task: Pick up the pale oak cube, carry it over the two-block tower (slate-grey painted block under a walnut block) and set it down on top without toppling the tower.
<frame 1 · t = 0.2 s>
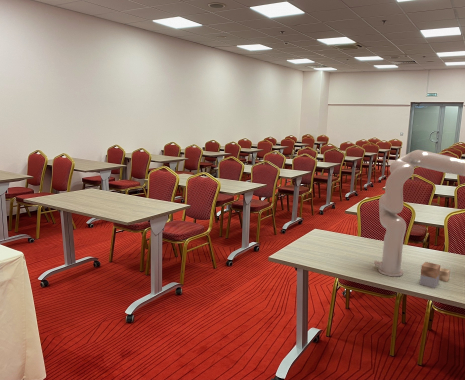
oak cube: (442, 279, 205), on the table
top block: (430, 274, 197), point 5 cm above the table, touching base block
base block: (429, 283, 198), on the table, touching top block
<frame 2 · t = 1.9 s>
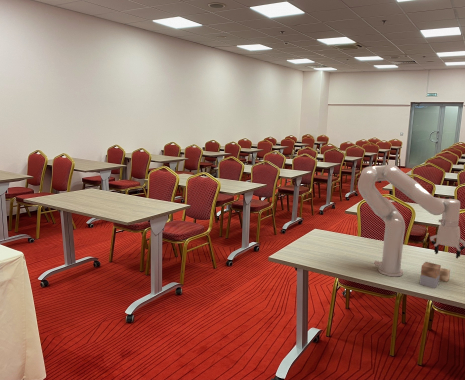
hand: (446, 255, 202), 13 cm above the table, tool pointing down, fingers open, 9 cm apart
top block: (430, 274, 197), point 5 cm above the table
base block: (429, 284, 198), on the table
everything else where it was.
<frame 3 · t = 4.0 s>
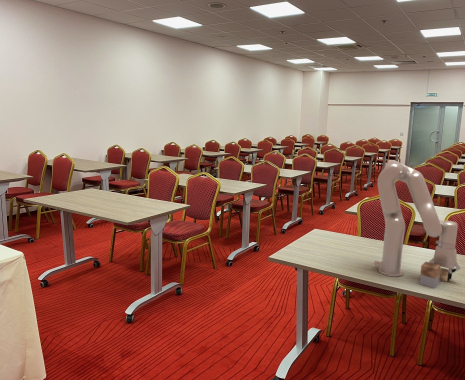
hand: (442, 278, 204), 0 cm above the table, tool pointing down, fingers closed on oak cube, 5 cm apart
oak cube: (442, 278, 205), on the table, touching gripper
top block: (429, 274, 197), point 5 cm above the table, touching base block
base block: (429, 283, 198), on the table, touching top block
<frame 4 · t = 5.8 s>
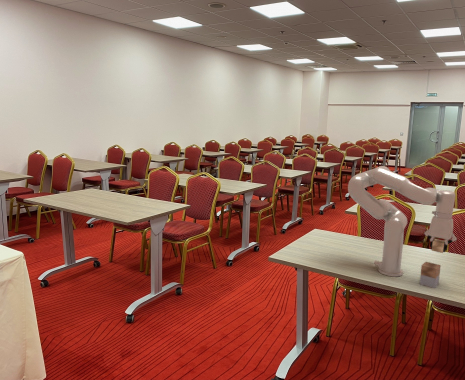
hand: (438, 249, 198), 17 cm above the table, tool pointing down, fingers closed on oak cube, 5 cm apart
oak cube: (438, 250, 199), point 16 cm above the table, touching gripper
everything else where it was.
when the fingers open (11 cm above the table, at t = 8.0 s): oak cube stays where it is, resting on top block.
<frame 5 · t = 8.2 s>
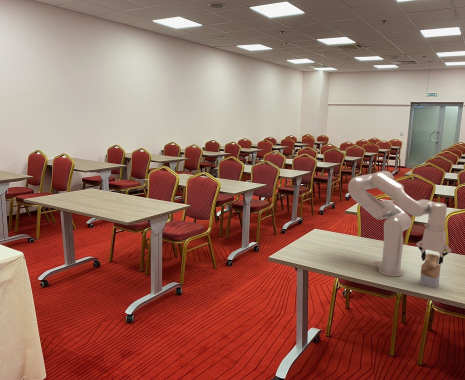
hand: (431, 261, 196), 12 cm above the table, tool pointing down, fingers open, 7 cm apart
oak cube: (431, 265, 196), point 10 cm above the table, touching top block
top block: (430, 274, 197), point 5 cm above the table, touching base block, oak cube
everything else where it was.
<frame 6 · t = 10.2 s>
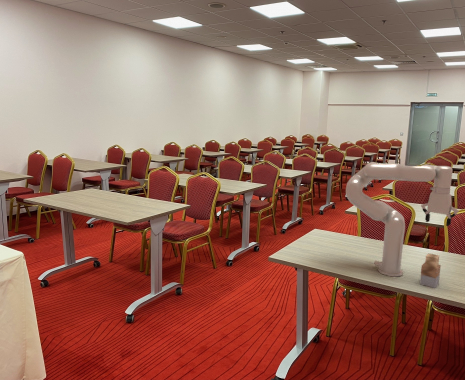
hand: (437, 223, 200), 29 cm above the table, tool pointing down, fingers open, 9 cm apart
nothing on the table moved.
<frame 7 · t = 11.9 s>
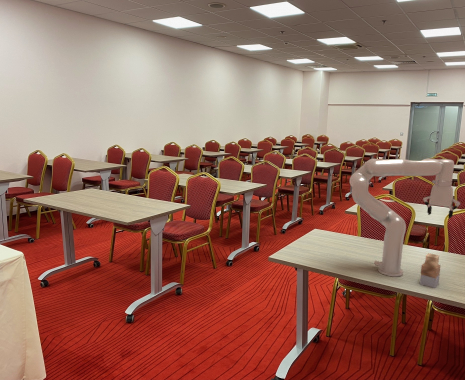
hand: (439, 216, 204), 32 cm above the table, tool pointing down, fingers open, 9 cm apart
nothing on the table moved.
at the end: oak cube 0.2 cm off-centre on the top block, point 5.0 cm above the top block's base; top block tilted 0°; the gripper is holding nothing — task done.
